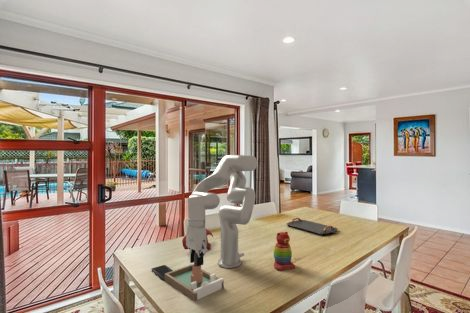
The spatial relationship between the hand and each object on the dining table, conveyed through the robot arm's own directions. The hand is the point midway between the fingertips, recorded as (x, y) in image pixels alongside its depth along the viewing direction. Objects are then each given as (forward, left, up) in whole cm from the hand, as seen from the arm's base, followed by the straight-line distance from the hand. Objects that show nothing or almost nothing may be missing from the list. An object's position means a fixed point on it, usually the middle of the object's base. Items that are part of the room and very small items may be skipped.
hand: (196, 263), depth 116 cm
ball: (0, +6, -8) cm, 10 cm away
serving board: (-119, -11, -11) cm, 120 cm away
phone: (+4, -22, -11) cm, 24 cm away
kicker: (0, 0, -9) cm, 9 cm away
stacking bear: (-45, +14, -10) cm, 48 cm away
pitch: (0, -4, -10) cm, 11 cm away
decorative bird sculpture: (-30, -37, -10) cm, 48 cm away
